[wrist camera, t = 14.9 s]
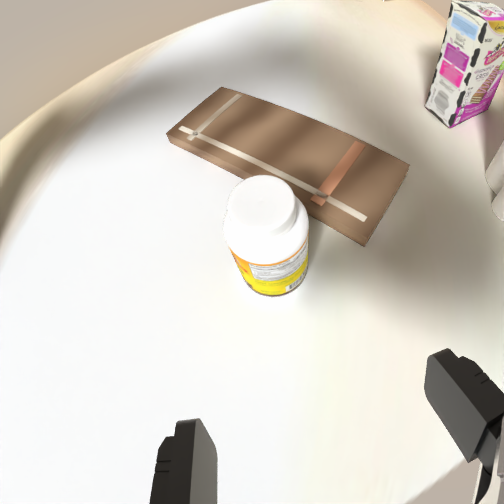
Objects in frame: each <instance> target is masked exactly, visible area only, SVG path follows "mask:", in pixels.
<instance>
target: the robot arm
mask: <svg viewBox="0 0 504 504" xmlns="http://www.w3.org/2000/svg"><path fill="white" fill-rule="evenodd" d="M424 390H425V394H426V397H427V400H428V401H429V403H430V404H431V406H432V407H433V409H434V410H435V412H436V413H437V415H438V416H439V418H440V419H441V421H442V422H443V424H444V425H445V427H446V429H447V430H448V432H449V433H450V435H451V436H452V438H453V439H454V441H455V443H456V444H457V446H458V447H459V449H460V450H461V452H462V454H463V455H464V457H465V458H466V460H467V462H468V463H469V462H471V461H473V460H474V459H476V458H479V459H480V461H481V463H480V467H479V472H478V477H477V482H476V487H475V491H474V495H473V500H472V504H504V393H503V392H502V391H501V390H500V389H499V388H498V387H497V385H496V384H495V383H494V382H493V381H492V380H490V379H489V377H488V376H487V374H486V373H485V372H484V373H483V370H482V369H481V368H480V367H479V366H478V365H477V364H476V363H475V362H474V361H472V360H470V359H468V358H466V357H464V356H462V357H460V358H458V357H457V356H456V355H455V354H454V353H453V352H452V351H451V350H450V349H448V348H446V349H444V350H442V351H439V352H437V353H435V354H432V355H430V356H429V357H428V359H427V368H426V376H425V384H424ZM156 461H157V463H156V466H155V474H154V478H153V484H152V491H151V497H150V503H149V504H217V452H216V448H215V445H214V443H213V441H212V439H211V437H210V436H209V434H208V432H207V430H206V428H205V427H204V425H203V423H202V421H201V420H200V419H199V418H198V419H190V420H182V421H178V422H177V423H176V427H175V434H174V436H170V437H166V438H165V439H164V441H163V442H162V444H161V446H160V447H159V449H158V455H157V460H156Z"/></svg>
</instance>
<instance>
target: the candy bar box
mask: <svg viewBox="0 0 504 504" xmlns="http://www.w3.org/2000/svg"><path fill="white" fill-rule="evenodd" d="M503 72H504V10H503V9H501V8H500V7H498V6H496V5H494V4H492V3H483V2H471V1H456V0H452V1H451V7H450V12H449V17H448V22H447V26H446V31H445V35H444V39H443V43H442V48H441V52H440V56H439V60H438V63H437V67H436V71H435V74H434V78H433V82H432V85H431V88H430V92H429V95H428V98H427V102H426V105H425V107H426V108H427V109H428V110H429V111H430V112H431V113H433V114H434V115H435V116H436V117H437V118H438V119H439V120H440V121H441V122H443V124H445V125H446V126H447V127H448V128H452V127H454V126H456V125H458V124H460V123H462V122H464V121H466V120H468V119H470V118H472V117H474V116H476V115H478V114H480V113H482V112H484V111H486V110H488V108H489V106H490V104H491V101H492V99H493V97H494V94H495V92H496V90H497V87H498V85H499V82H500V80H501V77H502V75H503Z"/></svg>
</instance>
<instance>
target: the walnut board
mask: <svg viewBox="0 0 504 504" xmlns="http://www.w3.org/2000/svg"><path fill="white" fill-rule="evenodd" d="M166 135H167V137H168V139H169V141H170V143H172V144H174V145H176V146H178V147H180V148H182V149H184V150H187V151H189V152H191V153H193V154H195V155H197V156H199V157H201V158H203V159H205V160H207V161H209V162H211V163H213V164H215V165H217V166H219V167H221V168H223V169H225V170H227V171H229V172H231V173H232V174H234V175H236V176H238V177H240V178H242V179H244V180H245V179H247V178H250V177H253V176H257V175H270V176H274V177H277V178H279V179H281V180H283V181H284V182H286V183H287V184H288V185H289V186H290V188H291V189H292V191H293V193H294V195H295V196H296V197H297V198H298V199H299V200H300V201H301V202H302V204H303V205H304V207H305V209H306V211H307V214H309V215H310V216H312V217H314V218H316V219H317V220H319V221H321V222H323V223H324V224H326V225H328V226H330V227H331V228H333V229H335V230H337V231H338V232H340V233H342V234H343V235H345V236H347V237H349V238H350V239H352V240H354V241H355V242H357V243H359V244H360V245H362V246H364V247H365V245H366V243H367V242H368V240H369V238H370V237H371V235H372V234H373V232H374V230H375V229H376V227H377V225H378V224H379V222H380V220H381V218H382V217H383V215H384V213H385V212H386V210H387V208H388V207H389V205H390V203H391V201H392V200H393V198H394V196H395V194H396V193H397V191H398V189H399V187H400V185H401V184H402V182H403V180H404V178H405V176H406V174H407V172H408V169H409V166H410V165H409V164H407V163H405V162H403V161H401V160H399V159H398V158H396V157H394V156H392V155H390V154H388V153H386V152H384V151H382V150H380V149H378V148H376V147H374V146H372V145H370V144H368V143H366V142H364V141H361V140H359V139H357V138H355V137H353V136H351V135H349V134H346V133H344V132H342V131H340V130H337V129H335V128H333V127H331V126H328V125H326V124H324V123H321V122H319V121H316V120H314V119H312V118H309V117H307V116H304V115H302V114H299V113H296V112H294V111H291V110H289V109H286V108H283V107H281V106H278V105H275V104H272V103H270V102H267V101H264V100H261V99H258V98H255V97H252V96H249V95H246V94H243V93H240V92H237V91H234V90H231V89H227V88H224V87H221V88H219V89H218V90H217V91H215V92H214V93H213V94H212V95H210V96H209V97H208V98H207V99H206V100H204V101H203V102H202V103H201V104H199V105H198V106H197V107H196V108H195V109H194V110H192V111H191V112H190V113H189V114H188V115H186V116H185V117H184V118H183V119H182V120H181V121H180V122H178V123H177V124H176V125H175V126H174V127H173V128H172V129H171V130H169V131H168V132H167V133H166Z"/></svg>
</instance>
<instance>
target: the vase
mask: <svg viewBox="0 0 504 504" xmlns="http://www.w3.org/2000/svg"><path fill="white" fill-rule="evenodd" d="M485 177H486V180H487V183H488V184H489V186H490V188H491V189H492V190H493V191H494V192H495V194H497V196H496V197H495V199H494V200H493V201H492V204H491V205H492V210H493V212H494V214H495V215H496V216H497V217H498V218H499V219H500V220H502V221H504V140H503V142H502V144H501V146H500V148H499V149H498V151H497V153H496V155H495V156H494V158H493V160H492V162H491V163H490V165H489V167H488V168H487V170H486V172H485Z"/></svg>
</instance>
